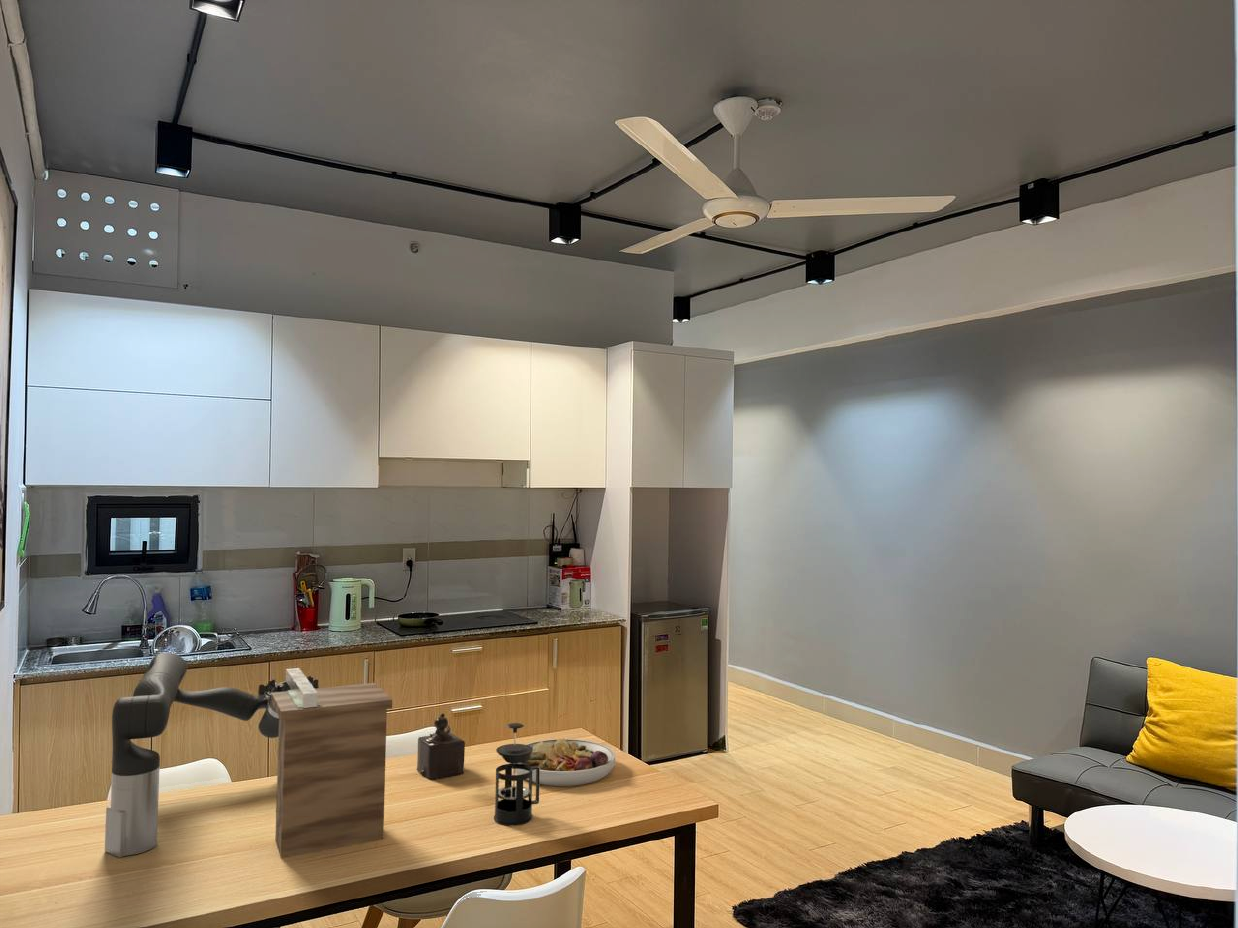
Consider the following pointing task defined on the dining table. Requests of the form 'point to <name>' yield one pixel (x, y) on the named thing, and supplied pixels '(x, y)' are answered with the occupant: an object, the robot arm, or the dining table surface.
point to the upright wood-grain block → (330, 768)
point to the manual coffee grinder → (440, 752)
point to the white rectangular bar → (301, 688)
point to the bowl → (569, 761)
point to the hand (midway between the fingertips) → (292, 681)
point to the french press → (514, 802)
